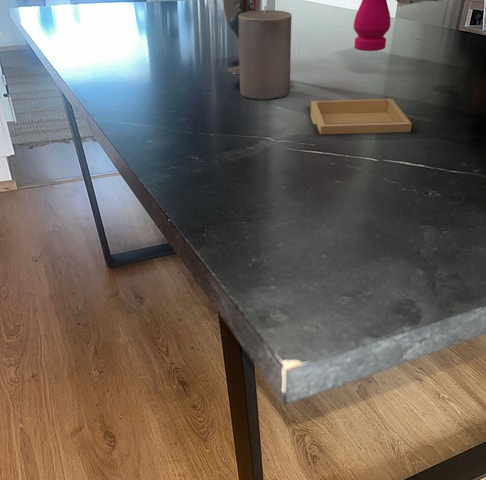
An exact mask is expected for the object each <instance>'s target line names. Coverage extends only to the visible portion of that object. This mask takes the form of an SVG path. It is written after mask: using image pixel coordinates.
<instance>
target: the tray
mask: <svg viewBox="0 0 486 480" xmlns="http://www.w3.org/2000/svg"><path fill="white" fill-rule="evenodd" d="M310 119H311V122H312V124H313V125H316V127H317V130H318V132H319V134H320V135H346V134H347V135H348V134H377V133H378V134H379V133H380V134H381V133H384V134H385V133H411V131H412V125H413V124H412V122H411V121H410V119H409V118H408V117H407V116H406V114H405V113H404V112H403V110H402V109H401V108H400V107H399V106H398V105H397V102H395V101H394V100H393V98H367V99H366V98H365V99H364V98H363V99H336V100H335V99H334V100H332V99H331V100H311V102H310Z"/></svg>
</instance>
